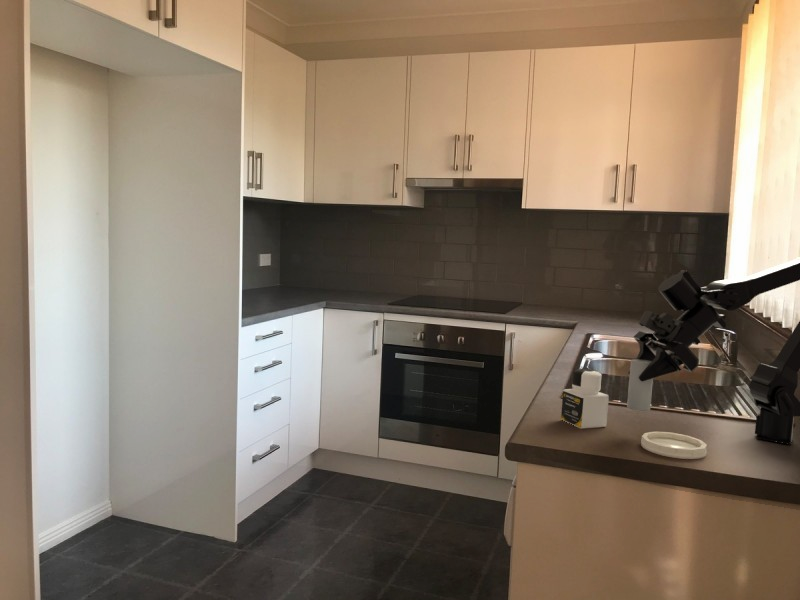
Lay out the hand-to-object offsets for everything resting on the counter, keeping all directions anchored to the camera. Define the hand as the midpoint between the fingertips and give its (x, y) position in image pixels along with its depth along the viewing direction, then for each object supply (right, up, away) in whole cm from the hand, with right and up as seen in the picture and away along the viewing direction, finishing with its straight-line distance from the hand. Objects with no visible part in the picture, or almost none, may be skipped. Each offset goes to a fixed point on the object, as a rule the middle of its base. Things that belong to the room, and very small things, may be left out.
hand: (634, 377), depth 140 cm
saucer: (+5, -13, -7) cm, 16 cm away
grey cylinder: (+1, -7, +1) cm, 7 cm away
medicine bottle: (-9, -11, +8) cm, 17 cm away
